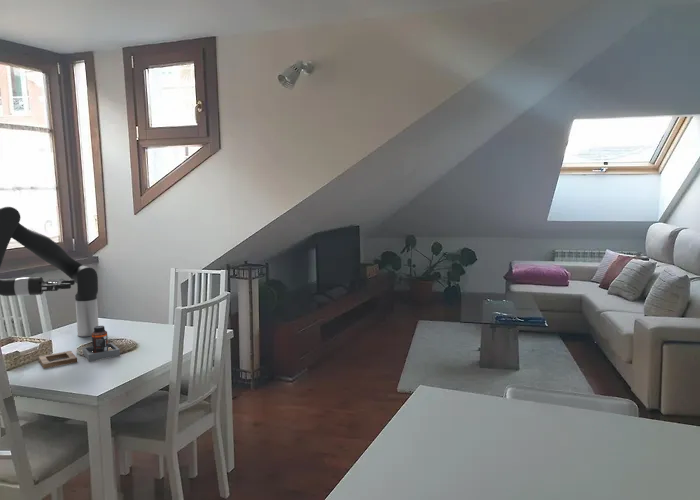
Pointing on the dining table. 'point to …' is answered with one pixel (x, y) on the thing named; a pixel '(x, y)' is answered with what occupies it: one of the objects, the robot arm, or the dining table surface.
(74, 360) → the walnut holder
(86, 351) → the parts tray
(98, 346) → the supplement bottle
